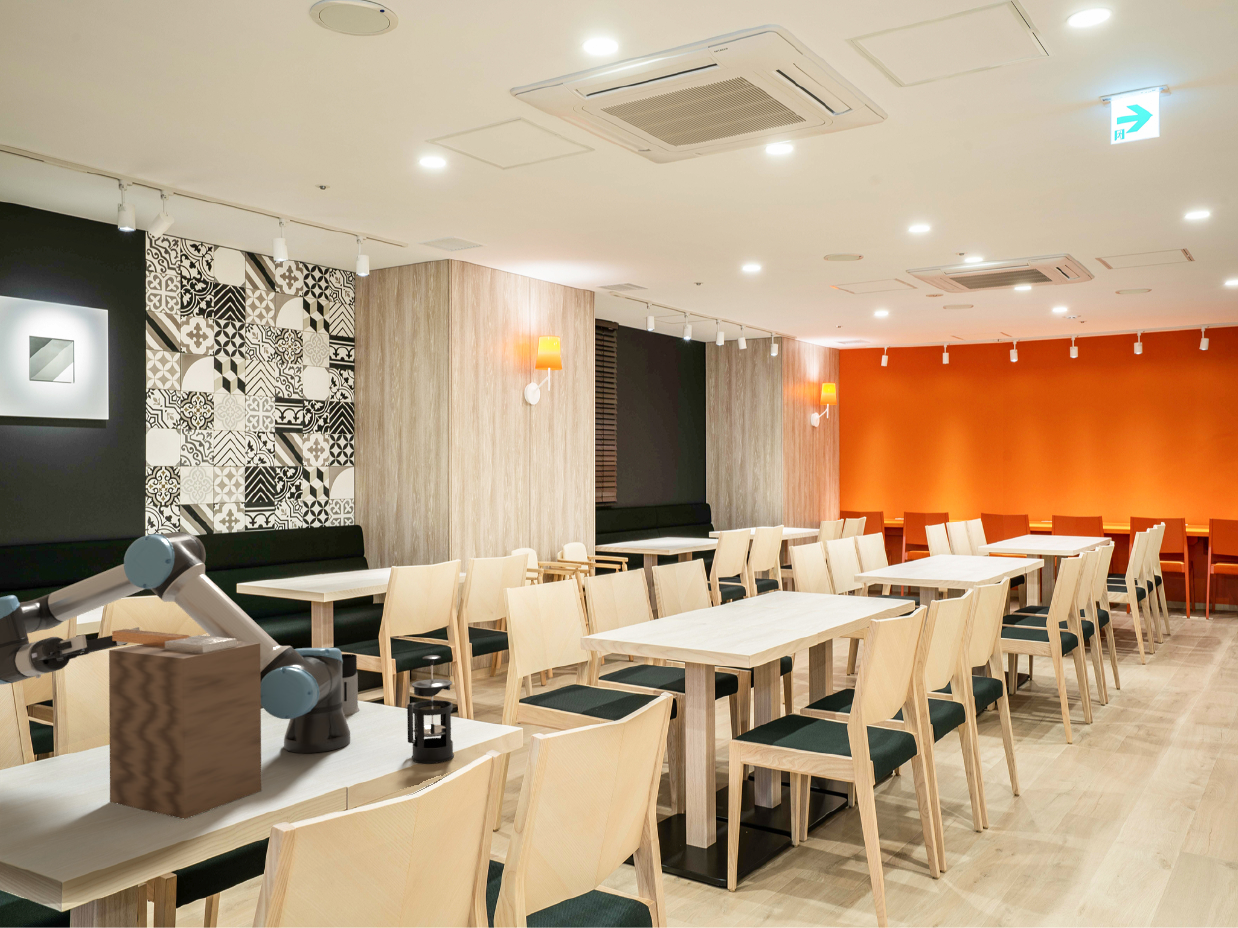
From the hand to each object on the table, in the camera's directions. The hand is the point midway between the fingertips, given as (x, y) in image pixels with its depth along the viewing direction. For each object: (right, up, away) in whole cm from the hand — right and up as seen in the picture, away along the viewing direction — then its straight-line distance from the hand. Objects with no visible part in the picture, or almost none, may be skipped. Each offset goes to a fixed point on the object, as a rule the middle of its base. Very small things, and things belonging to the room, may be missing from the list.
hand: (112, 636), depth 206 cm
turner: (+18, +1, -12) cm, 21 cm away
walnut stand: (+23, -29, -15) cm, 40 cm away
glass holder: (+34, -30, +51) cm, 69 cm away
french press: (+67, -29, +10) cm, 74 cm away
